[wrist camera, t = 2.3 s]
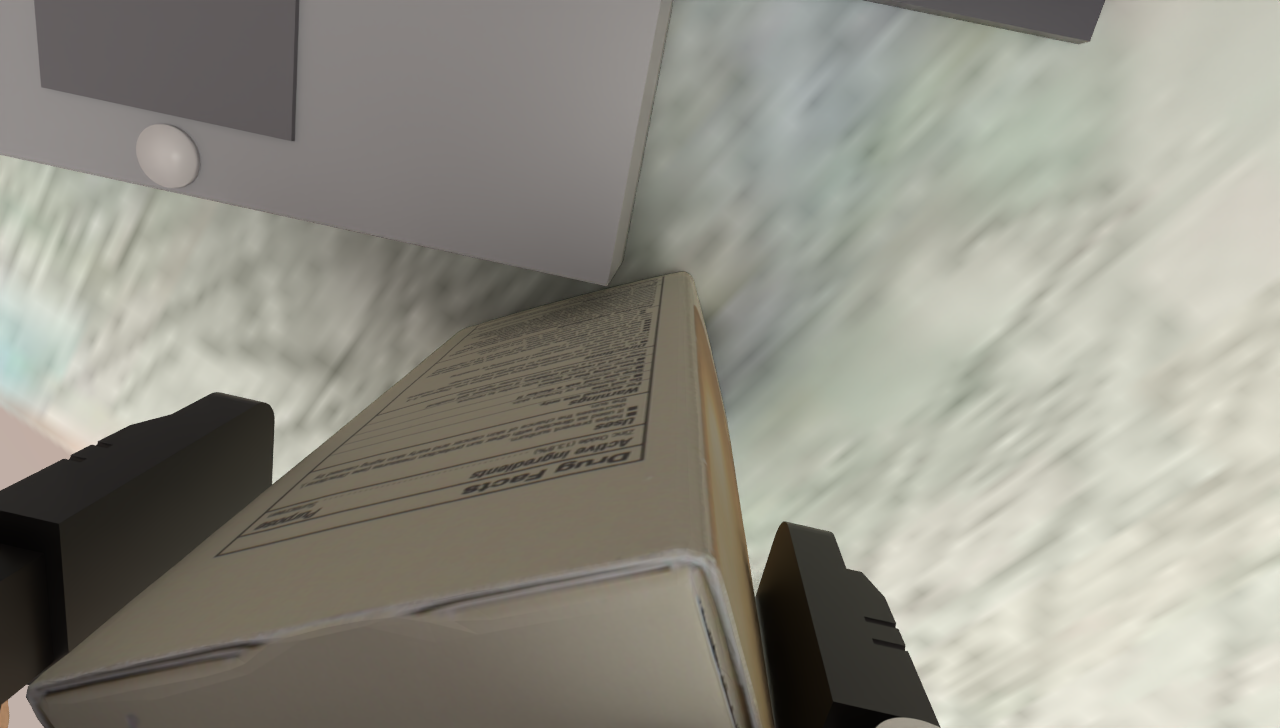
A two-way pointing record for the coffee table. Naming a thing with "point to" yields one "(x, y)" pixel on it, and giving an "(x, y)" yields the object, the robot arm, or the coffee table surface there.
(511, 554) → the skincare box
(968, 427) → the coffee table surface
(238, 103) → the gray recessed tray
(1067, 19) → the phone
